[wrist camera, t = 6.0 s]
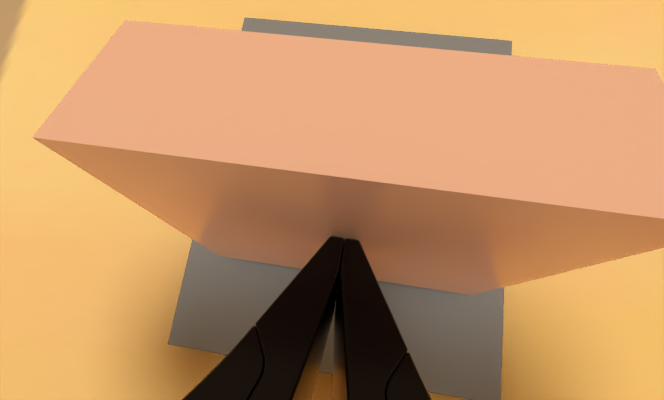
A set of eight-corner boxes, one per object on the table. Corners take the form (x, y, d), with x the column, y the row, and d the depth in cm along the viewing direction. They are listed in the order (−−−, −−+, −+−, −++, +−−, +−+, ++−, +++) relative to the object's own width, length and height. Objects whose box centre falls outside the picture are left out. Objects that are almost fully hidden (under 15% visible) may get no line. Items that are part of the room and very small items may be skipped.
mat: (493, 397, 13) (500, 404, 12) (175, 340, 14) (167, 344, 13) (505, 48, 16) (511, 41, 16) (248, 25, 17) (244, 17, 17)
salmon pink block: (471, 295, 12) (739, 228, 4) (218, 255, 13) (32, 137, 5) (466, 218, 14) (652, 62, 6) (241, 187, 15) (129, 15, 7)
